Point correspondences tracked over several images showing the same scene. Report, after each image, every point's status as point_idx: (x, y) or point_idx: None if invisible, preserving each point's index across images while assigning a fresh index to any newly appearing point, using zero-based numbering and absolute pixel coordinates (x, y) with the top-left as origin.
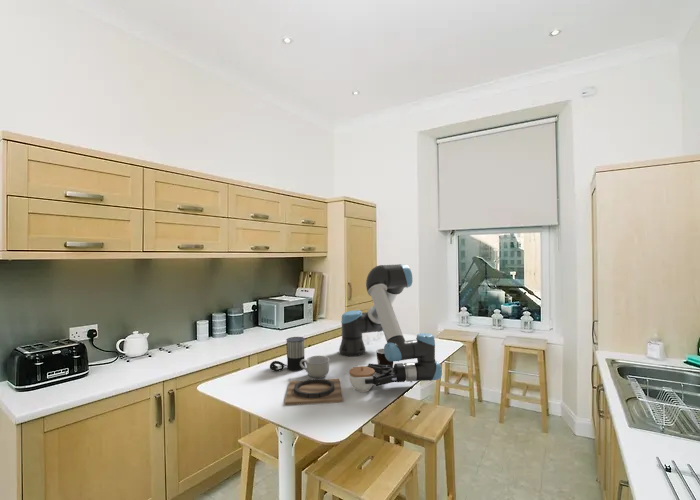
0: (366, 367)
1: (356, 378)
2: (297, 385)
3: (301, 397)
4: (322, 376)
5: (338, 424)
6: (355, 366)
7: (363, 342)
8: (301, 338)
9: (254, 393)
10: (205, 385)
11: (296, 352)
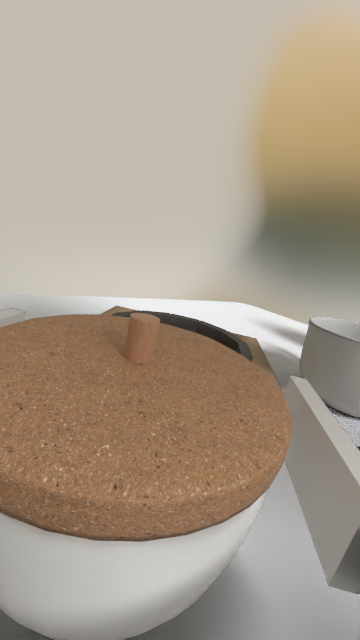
0: (235, 422)
1: (10, 309)
2: (195, 321)
3: None
4: (320, 395)
5: None
6: (307, 389)
7: None
8: None
9: (201, 312)
10: (246, 304)
11: None
